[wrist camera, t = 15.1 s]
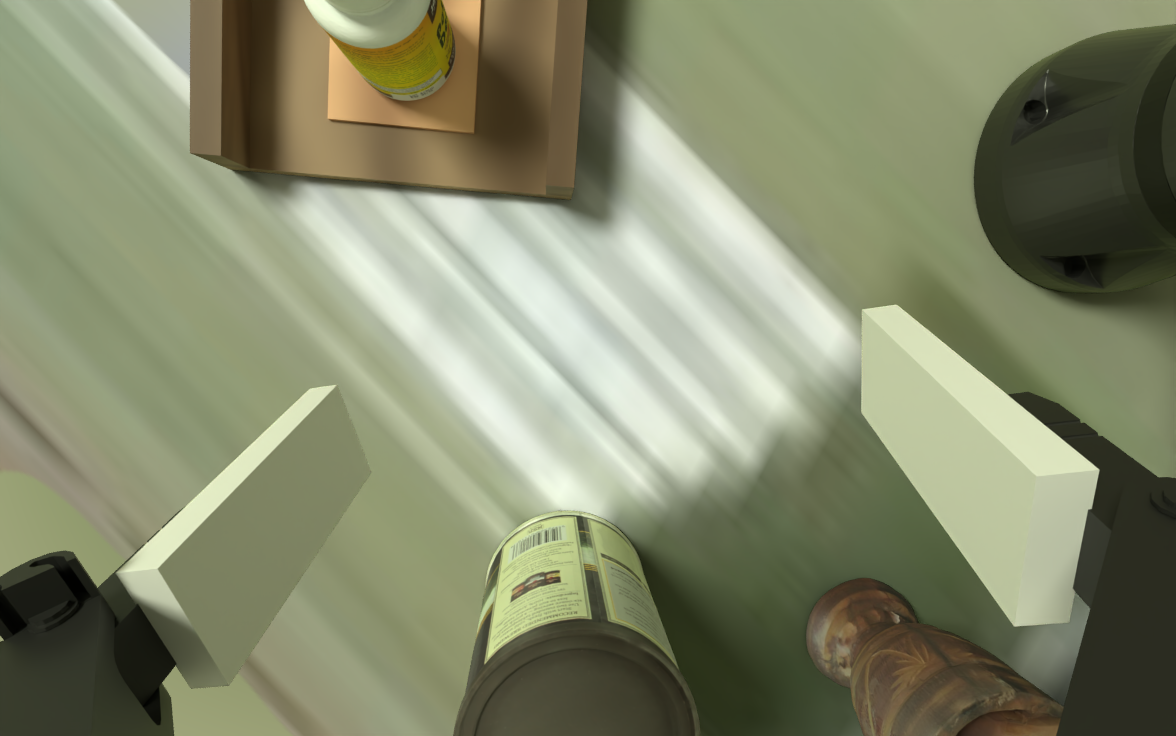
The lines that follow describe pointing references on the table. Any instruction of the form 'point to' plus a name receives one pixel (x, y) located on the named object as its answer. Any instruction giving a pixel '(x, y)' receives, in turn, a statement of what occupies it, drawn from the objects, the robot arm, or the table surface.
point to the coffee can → (572, 640)
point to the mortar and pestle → (918, 671)
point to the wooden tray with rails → (391, 99)
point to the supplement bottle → (392, 42)
